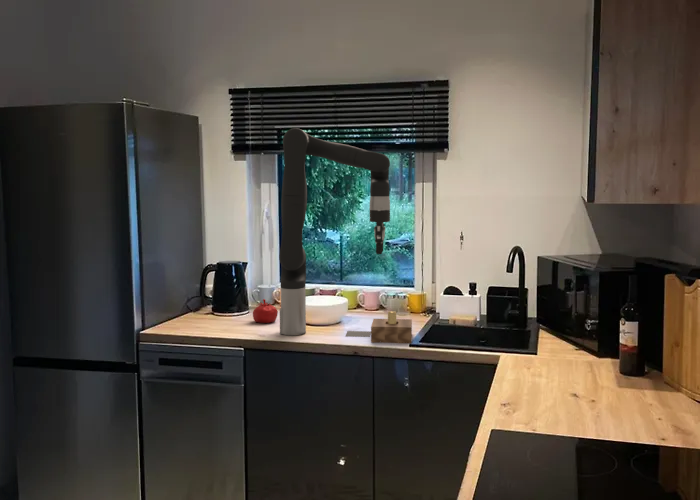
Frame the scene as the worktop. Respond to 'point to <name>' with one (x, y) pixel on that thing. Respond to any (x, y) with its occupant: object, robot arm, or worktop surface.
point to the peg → (392, 317)
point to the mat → (358, 334)
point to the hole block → (391, 331)
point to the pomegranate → (265, 313)
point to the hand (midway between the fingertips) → (379, 252)
